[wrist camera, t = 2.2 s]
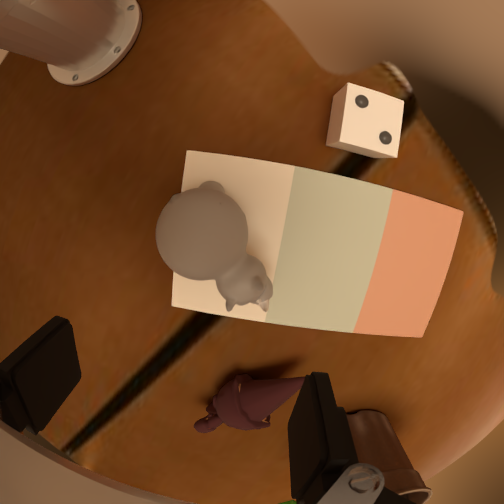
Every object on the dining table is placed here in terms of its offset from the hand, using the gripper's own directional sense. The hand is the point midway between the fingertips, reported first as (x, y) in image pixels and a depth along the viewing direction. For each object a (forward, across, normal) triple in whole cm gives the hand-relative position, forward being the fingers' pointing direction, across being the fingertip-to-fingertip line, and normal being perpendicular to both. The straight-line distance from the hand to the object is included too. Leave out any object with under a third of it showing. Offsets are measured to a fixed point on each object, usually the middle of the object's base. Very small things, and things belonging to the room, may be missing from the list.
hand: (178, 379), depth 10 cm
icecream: (+20, -4, +17) cm, 26 cm away
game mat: (+19, -10, -1) cm, 21 cm away
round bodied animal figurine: (+19, 0, -1) cm, 19 cm away
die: (+19, -10, -14) cm, 25 cm away
